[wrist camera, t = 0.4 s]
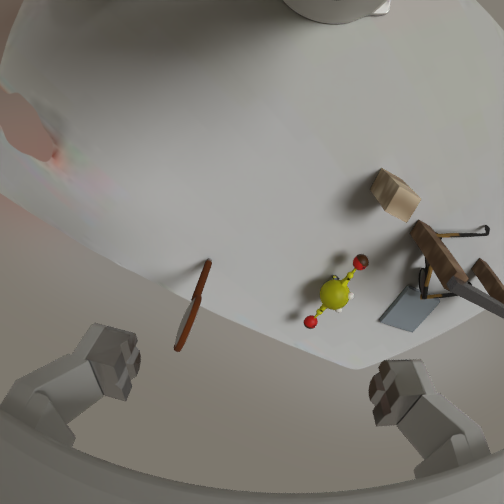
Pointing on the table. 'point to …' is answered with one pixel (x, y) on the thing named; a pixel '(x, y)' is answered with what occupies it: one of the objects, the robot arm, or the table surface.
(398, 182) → the block
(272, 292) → the table surface
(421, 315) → the pad
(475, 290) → the rod
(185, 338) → the magnifying glass
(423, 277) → the sunglasses
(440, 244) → the rod stand
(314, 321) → the toy figure
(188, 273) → the table surface
